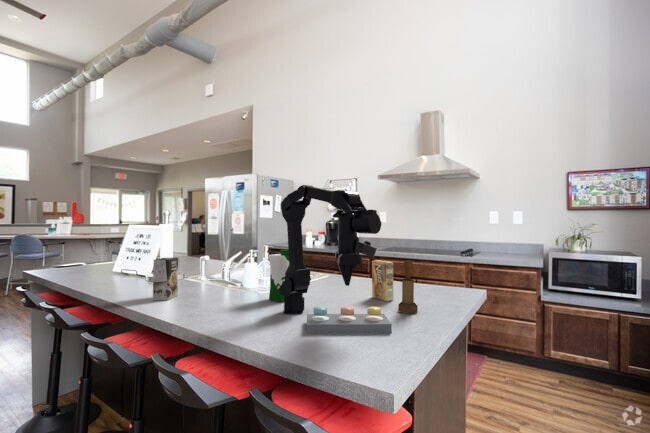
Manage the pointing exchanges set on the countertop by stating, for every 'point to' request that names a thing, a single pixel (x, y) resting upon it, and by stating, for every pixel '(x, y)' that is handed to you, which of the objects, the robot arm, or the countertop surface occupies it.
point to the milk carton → (278, 274)
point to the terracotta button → (347, 311)
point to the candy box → (382, 280)
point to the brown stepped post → (407, 292)
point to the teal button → (320, 311)
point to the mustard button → (374, 311)
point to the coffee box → (165, 278)
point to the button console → (348, 323)
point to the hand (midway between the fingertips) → (347, 285)
